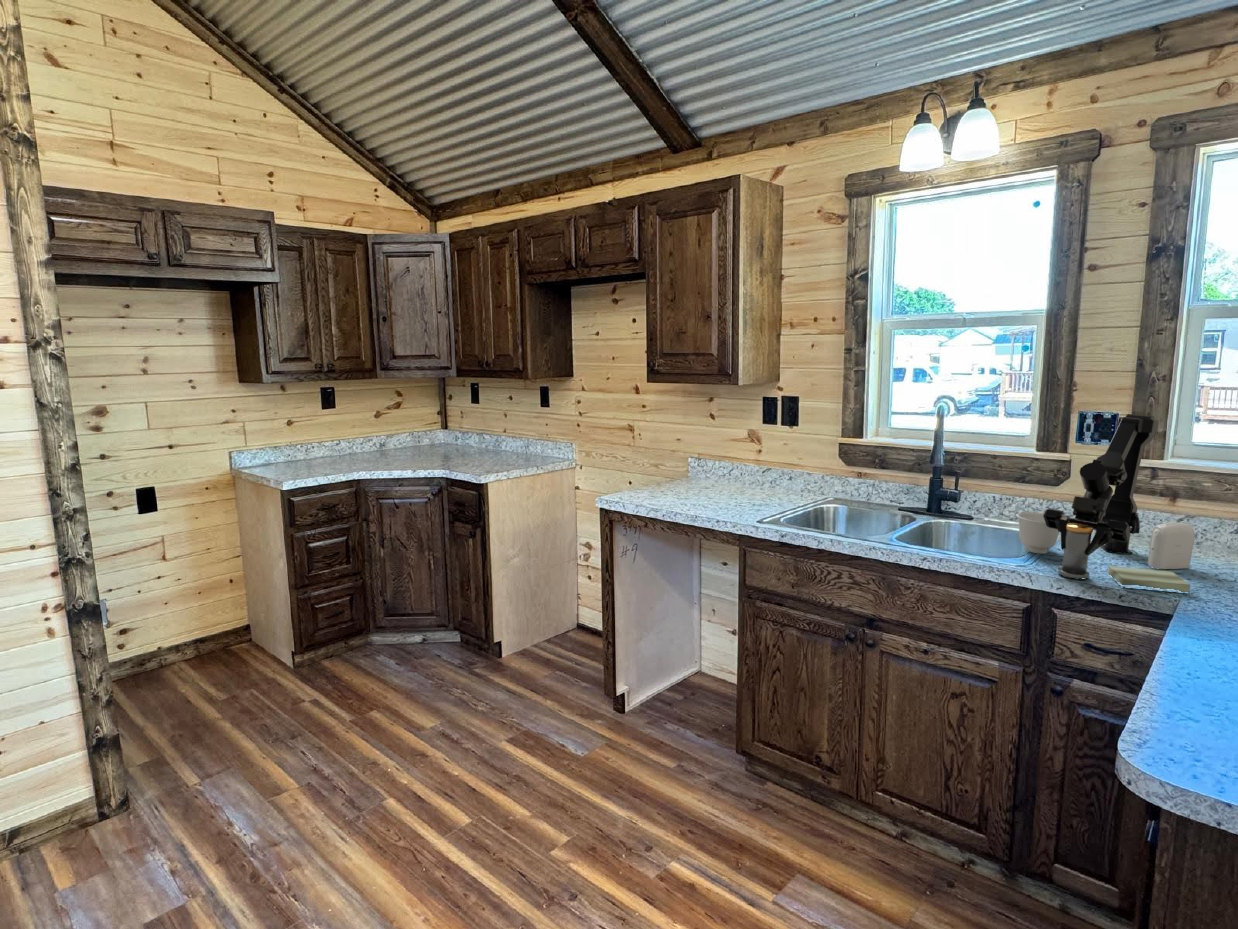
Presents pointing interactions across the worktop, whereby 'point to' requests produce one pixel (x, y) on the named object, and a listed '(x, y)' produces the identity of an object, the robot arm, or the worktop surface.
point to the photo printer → (1171, 546)
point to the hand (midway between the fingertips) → (1074, 551)
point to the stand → (1148, 578)
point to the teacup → (1036, 532)
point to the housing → (1076, 551)
